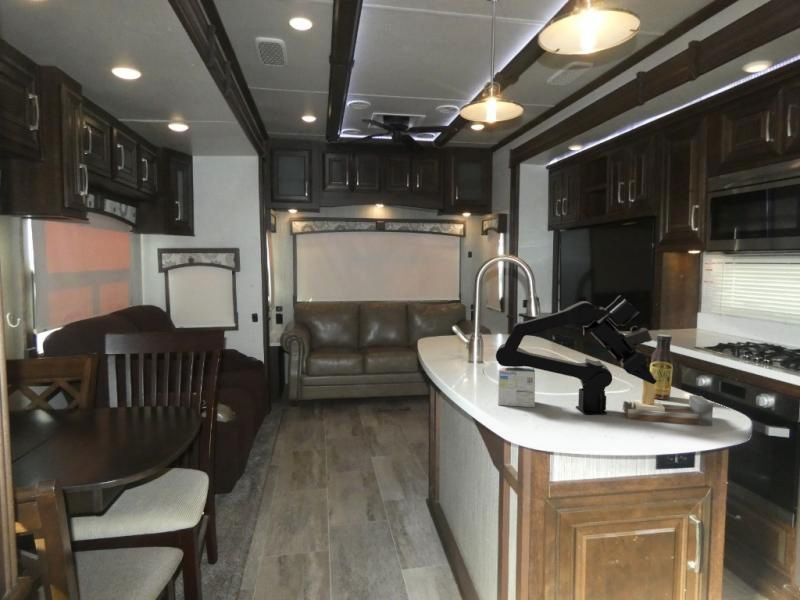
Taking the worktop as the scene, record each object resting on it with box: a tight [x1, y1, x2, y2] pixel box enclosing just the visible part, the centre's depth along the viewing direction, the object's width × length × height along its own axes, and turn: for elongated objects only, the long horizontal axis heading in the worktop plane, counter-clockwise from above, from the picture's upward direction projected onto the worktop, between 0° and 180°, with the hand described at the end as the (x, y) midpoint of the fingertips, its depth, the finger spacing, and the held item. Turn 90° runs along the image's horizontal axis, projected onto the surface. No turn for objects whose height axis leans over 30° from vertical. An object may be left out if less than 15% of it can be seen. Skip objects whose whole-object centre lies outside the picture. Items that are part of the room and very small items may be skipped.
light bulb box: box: [497, 365, 536, 408], centre depth 146 cm, size 11×7×11 cm, turn 78°
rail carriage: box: [631, 370, 665, 412], centre depth 135 cm, size 7×6×11 cm
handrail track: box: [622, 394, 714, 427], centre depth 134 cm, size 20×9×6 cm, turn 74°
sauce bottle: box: [649, 334, 674, 400], centre depth 152 cm, size 7×6×20 cm
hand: (651, 379), depth 134 cm, fingers open, 9 cm apart
